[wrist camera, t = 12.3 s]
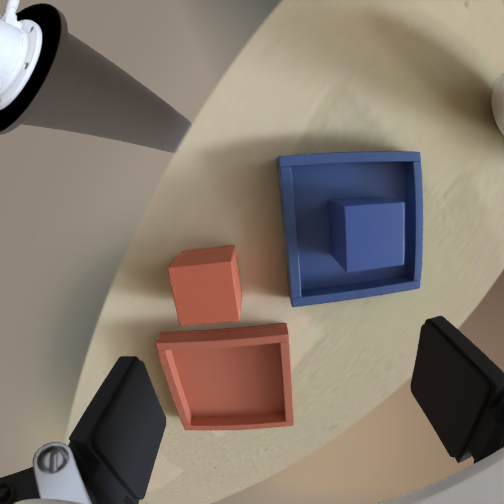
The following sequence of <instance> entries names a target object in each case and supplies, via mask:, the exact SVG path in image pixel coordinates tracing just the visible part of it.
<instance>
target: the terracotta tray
mask: <svg viewBox="0 0 504 504" xmlns="http://www.w3.org/2000/svg"><path fill="white" fill-rule="evenodd" d="M155 344H156V348H157V352H158V355H159V358H160V361H161V365H162V368H163V371H164V374H165V377H166V380H167V383H168V386H169V389H170V392H171V394H172V397H173V400H174V403H175V406H176V408H177V411H178V414H179V416H180V419H181V422H182V424H183V427H184V429H185V430H243V429H260V428H272V427H283V426H292V425H294V421H293V399H292V379H291V362H290V345H289V333H288V328H287V323H282V324H273V325H263V326H253V327H242V328H229V329H216V330H201V331H182V332H161V333H160V335H159V337H158V339H157V341H156V342H155Z"/></svg>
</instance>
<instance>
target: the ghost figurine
mask: <svg viewBox="0 0 504 504" xmlns="http://www.w3.org/2000/svg"><path fill="white" fill-rule="evenodd" d="M491 105H492V111H493V115H494V119H495V121H496V124H497V126H498V128H499V130H500V131H501V133H502V134H503V136H504V73H503V74H502V75H500V77H499V78H498V79H497V81H496V82H495V84H494V87H493V90H492V97H491Z"/></svg>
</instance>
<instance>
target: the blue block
mask: <svg viewBox="0 0 504 504" xmlns="http://www.w3.org/2000/svg"><path fill="white" fill-rule="evenodd" d="M328 212H329V228H330V247H331V256H332V257H333V258H334V259H335V260H336V261H337V262H338V263H339V264H340V266H341V267H342V268H343V269H344V270H345V271H346V272H354V271H362V270H369V269H377V268H384V267H391V266H399V265H404V202H402V201H397V200H393V199H388V198H384V197H379V196H377V197H362V198H347V199H334V200H328Z"/></svg>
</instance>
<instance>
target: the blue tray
mask: <svg viewBox="0 0 504 504" xmlns="http://www.w3.org/2000/svg"><path fill="white" fill-rule="evenodd" d="M420 161H421V159H420V152H405V151H373V152H337V153H318V154H302V155H289V156H279V157H278V158H277V166H278V176H279V185H280V195H281V205H282V215H283V226H284V237H285V248H286V260H287V273H288V286H289V298H290V301H291V305H292V307H298V306H306V305H314V304H322V303H329V302H337V301H344V300H351V299H358V298H364V297H371V296H377V295H383V294H389V293H395V292H401V291H407V290H412V289H418V288H420V284H421V272H422V254H423V189H422V171H421V162H420ZM377 196H379V197H384V198H388V199H393V200H397V201H402V202H404V265H399V266H391V267H384V268H377V269H369V270H362V271H354V272H346V271H345V270H344V269H343V268H342V267H341V266H340V264H339V263H338V262H337V261H336V260H335V259H334V258H333V257H332V256H331V247H330V228H329V212H328V200H334V199H347V198H362V197H377Z"/></svg>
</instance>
